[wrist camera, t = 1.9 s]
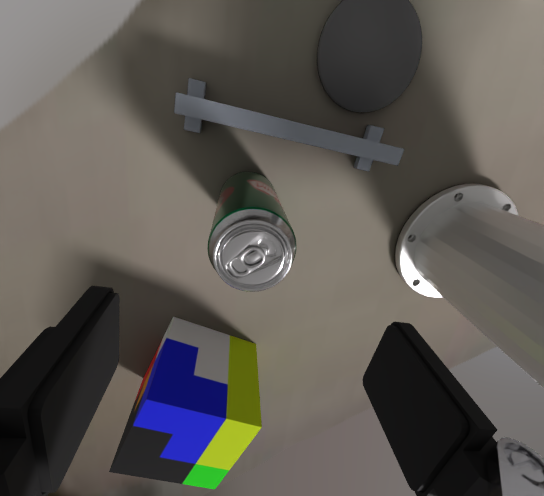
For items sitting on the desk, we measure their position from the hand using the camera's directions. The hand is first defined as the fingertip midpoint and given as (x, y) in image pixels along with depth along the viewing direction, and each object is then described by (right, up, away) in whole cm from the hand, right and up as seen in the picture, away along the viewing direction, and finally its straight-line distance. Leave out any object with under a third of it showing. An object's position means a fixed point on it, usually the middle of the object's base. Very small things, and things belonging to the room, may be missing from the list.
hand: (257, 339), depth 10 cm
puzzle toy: (-8, -10, +24) cm, 27 cm away
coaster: (+8, +18, +12) cm, 23 cm away
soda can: (-2, +8, +16) cm, 18 cm away
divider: (+2, +13, +14) cm, 19 cm away
